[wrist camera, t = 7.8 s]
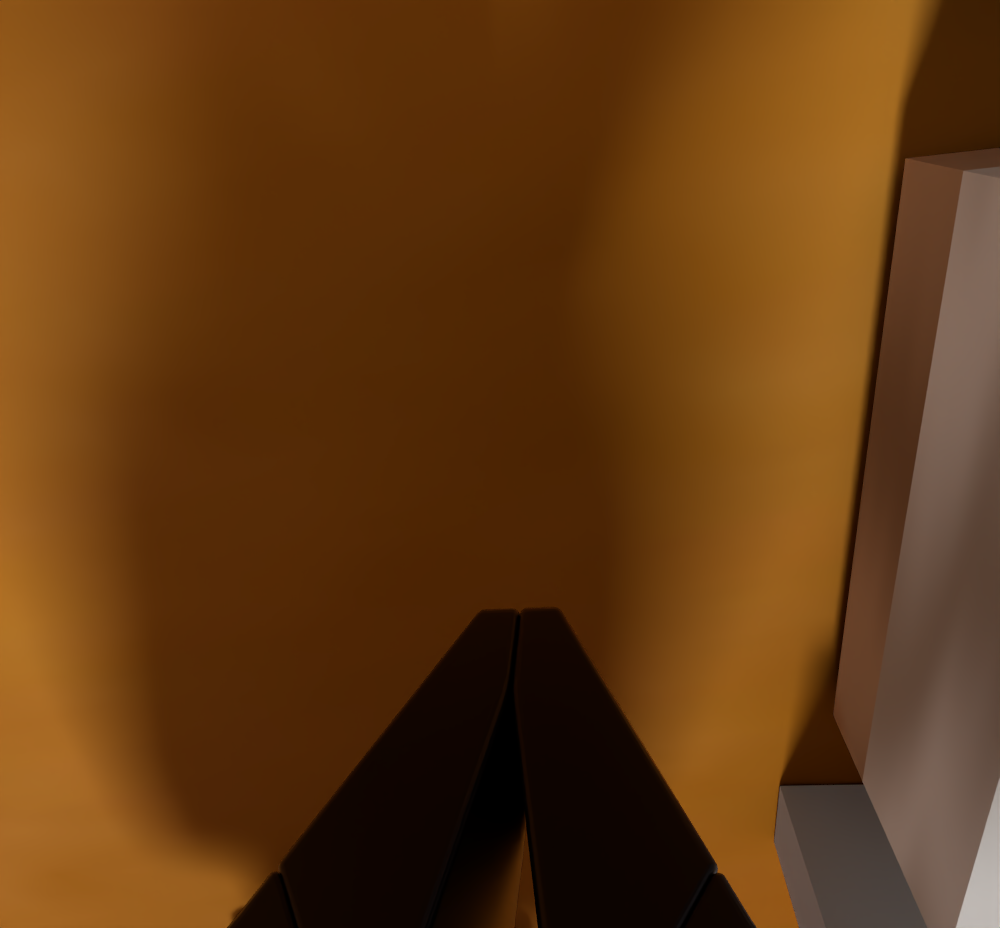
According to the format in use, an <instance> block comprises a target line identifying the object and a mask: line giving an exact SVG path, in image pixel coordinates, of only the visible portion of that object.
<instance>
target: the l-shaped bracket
mask: <svg viewBox="0 0 1000 928" xmlns="http://www.w3.org/2000/svg"><path fill="white" fill-rule="evenodd" d="M833 716H834V718H835V721H836V723H837V725H838V727H839V730H840V732H841V734H842V736H843V739H844V741H845V743H846V745H847V748H848V750H849V752H850V754H851V757H852V759H853V761H854V763H855V766H856V768H857V770H858V773H859V775H860V777H861V779H862V782H863V784H864V786H865V788H866V791H867V793H868V795H869V797H870V800H871V802H872V804H873V806H874V809H875V811H876V813H877V815H878V818H879V820H880V822H881V824H882V827H883V829H884V831H885V833H886V836H887V838H888V840H889V842H890V845H891V847H892V849H893V851H894V854H895V856H896V858H897V861H898V863H899V865H900V867H901V870H902V872H903V874H904V876H905V879H906V881H907V883H908V885H909V888H910V890H911V892H912V894H913V897H914V899H915V901H916V903H917V906H918V908H919V910H920V912H921V915H922V917H923V919H924V921H925V924H926V926H927V928H1000V148H992V149H983V150H974V151H966V152H957V153H948V154H939V155H931V156H922V157H913V158H905V166H904V174H903V181H902V189H901V197H900V204H899V212H898V220H897V227H896V235H895V243H894V250H893V258H892V266H891V273H890V281H889V289H888V296H887V304H886V312H885V319H884V327H883V335H882V342H881V350H880V358H879V365H878V373H877V381H876V389H875V396H874V404H873V412H872V419H871V427H870V435H869V442H868V450H867V458H866V465H865V473H864V481H863V488H862V496H861V504H860V511H859V519H858V527H857V534H856V542H855V550H854V557H853V565H852V573H851V580H850V588H849V596H848V604H847V611H846V619H845V627H844V634H843V642H842V650H841V657H840V665H839V673H838V680H837V688H836V696H835V703H834V711H833Z"/></svg>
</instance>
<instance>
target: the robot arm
mask: <svg viewBox="0 0 1000 928" xmlns="http://www.w3.org/2000/svg"><path fill="white" fill-rule="evenodd" d="M526 828H527V836H528V845H529V854H530V862H531V871H532V880H533V888H534V897H535V906H536V914H537V923H538V928H756V926H755V925H754V923H753V922H752V920H751V919H750V917H749V915H748V914H747V912H746V910H745V909H744V907H743V906H742V904H741V902H740V901H739V899H738V897H737V896H736V894H735V893H734V891H733V889H732V888H731V886H730V884H729V883H728V881H727V879H726V878H725V876H724V875H723V874H721V873H717V871H718V868H717V864H716V862H715V861H714V859H713V857H712V856H711V854H710V853H709V851H708V849H707V848H706V846H705V844H704V843H703V841H702V840H701V838H700V836H699V835H698V833H697V831H696V830H695V828H694V826H693V825H692V823H691V822H690V820H689V818H688V817H687V815H686V813H685V812H684V810H683V808H682V807H681V805H680V804H679V802H678V800H677V799H676V797H675V795H674V794H673V792H672V791H671V789H670V787H669V786H668V784H667V782H666V781H665V779H664V777H663V776H662V774H661V773H660V771H659V769H658V768H657V766H656V764H655V763H654V761H653V759H652V758H651V756H650V755H649V753H648V751H647V750H646V748H645V746H644V745H643V743H642V741H641V740H640V738H639V737H638V735H637V733H636V732H635V730H634V728H633V727H632V725H631V724H630V722H629V720H628V719H627V717H626V715H625V714H624V712H623V710H622V709H621V707H620V706H619V704H618V702H617V701H616V699H615V697H614V696H613V694H612V692H611V691H610V689H609V688H608V686H607V684H606V683H605V681H604V679H603V678H602V676H601V674H600V673H599V671H598V670H597V668H596V666H595V665H594V663H593V661H592V660H591V658H590V657H589V655H588V653H587V652H586V650H585V648H584V647H583V645H582V643H581V642H580V640H579V639H578V637H577V635H576V634H575V632H574V630H573V629H572V627H571V625H570V624H569V622H568V621H567V619H566V617H565V616H564V614H563V613H562V611H561V610H560V609H558V608H556V607H542V608H525V609H523V610H522V611H521V613H520V614H519V612H518V611H517V610H516V609H486V610H482V611H480V612H479V613H478V614H477V615H476V616H475V617H474V618H473V620H472V621H471V622H470V624H469V625H468V626H467V627H466V629H465V630H464V631H463V632H462V634H461V635H460V636H459V637H458V639H457V640H456V641H455V642H454V644H453V645H452V646H451V647H450V649H449V650H448V651H447V653H446V654H445V655H444V656H443V658H442V659H441V660H440V661H439V663H438V664H437V665H436V666H435V668H434V669H433V670H432V671H431V673H430V674H429V675H428V676H427V678H426V679H425V680H424V682H423V683H422V684H421V685H420V687H419V688H418V689H417V690H416V692H415V693H414V694H413V695H412V697H411V698H410V699H409V700H408V702H407V703H406V704H405V705H404V707H403V708H402V709H401V711H400V712H399V713H398V714H397V716H396V717H395V718H394V719H393V721H392V722H391V723H390V724H389V726H388V727H387V728H386V729H385V731H384V732H383V733H382V734H381V736H380V737H379V738H378V740H377V741H376V742H375V743H374V745H373V746H372V747H371V748H370V750H369V751H368V752H367V753H366V755H365V756H364V757H363V758H362V760H361V761H360V762H359V763H358V765H357V766H356V767H355V768H354V770H353V771H352V772H351V774H350V775H349V776H348V777H347V779H346V780H345V781H344V782H343V784H342V785H341V786H340V787H339V789H338V790H337V791H336V792H335V794H334V795H333V796H332V797H331V799H330V800H329V801H328V803H327V804H326V805H325V806H324V808H323V809H322V810H321V811H320V813H319V814H318V815H317V816H316V818H315V819H314V820H313V821H312V823H311V824H310V825H309V826H308V828H307V829H306V830H305V832H304V833H303V834H302V835H301V837H300V838H299V839H298V840H297V842H296V843H295V844H294V845H293V847H292V848H291V849H290V850H289V852H288V853H287V854H286V855H285V857H284V858H283V859H282V861H281V862H280V863H279V865H278V869H279V873H280V874H279V873H278V872H272V873H271V874H270V875H269V876H268V878H267V879H266V880H265V881H264V883H263V884H262V885H261V886H260V888H259V889H258V890H257V891H256V893H255V894H254V895H253V896H252V898H251V899H250V900H249V901H248V903H247V904H246V905H245V907H244V908H243V909H242V910H241V912H240V913H239V914H238V915H237V916H236V918H235V919H234V920H233V921H232V922H231V924H230V925H229V926H228V927H227V928H514V927H515V919H516V910H517V902H518V894H519V886H520V878H521V869H522V861H523V853H524V842H525V831H526Z"/></svg>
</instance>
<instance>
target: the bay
mask: <svg viewBox="0 0 1000 928" xmlns="http://www.w3.org/2000/svg"><path fill="white" fill-rule="evenodd" d="M774 843H775V846H776V850H777V853H778V857H779V860H780V863H781V867H782V870H783V874H784V877H785V881H786V884H787V887H788V891H789V894H790V898H791V901H792V905H793V908H794V912H795V915H796V918H797V922H798V925H799V928H927V926H926V924H925V921H924V919H923V917H922V915H921V912H920V910H919V908H918V906H917V903H916V901H915V899H914V897H913V894H912V892H911V890H910V888H909V885H908V883H907V881H906V879H905V876H904V874H903V872H902V870H901V867H900V865H899V863H898V861H897V858H896V856H895V854H894V851H893V849H892V847H891V845H890V842H889V840H888V838H887V836H886V833H885V831H884V829H883V827H882V824H881V822H880V820H879V818H878V815H877V813H876V811H875V809H874V806H873V804H872V802H871V800H870V797H869V795H868V793H867V791H866V788H865V786H864V785H803V786H780V790H779V800H778V809H777V819H776V828H775V838H774Z"/></svg>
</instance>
